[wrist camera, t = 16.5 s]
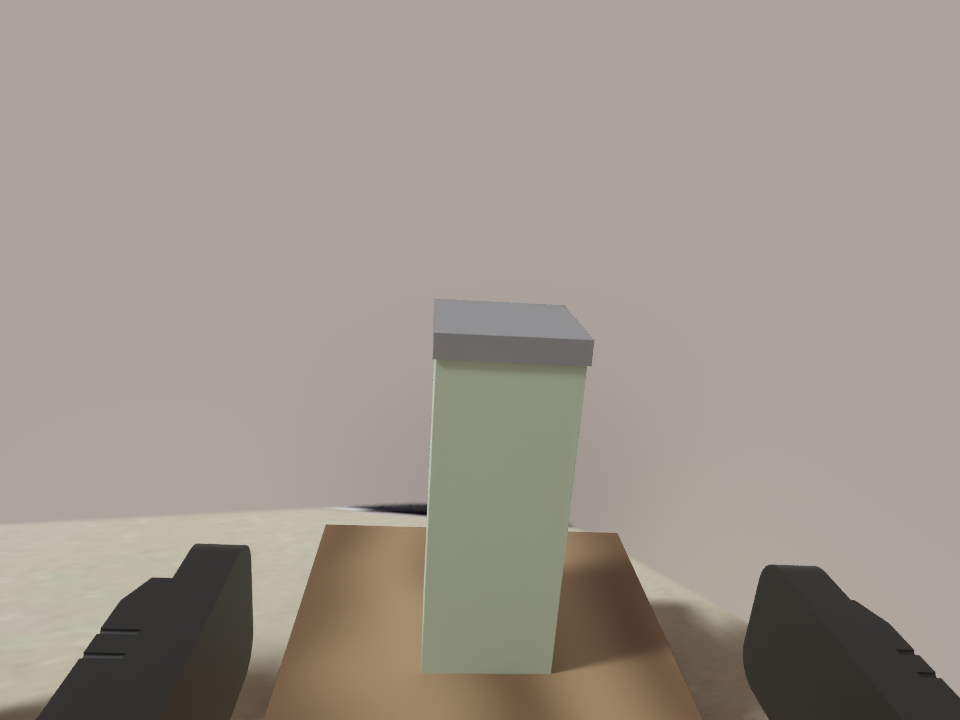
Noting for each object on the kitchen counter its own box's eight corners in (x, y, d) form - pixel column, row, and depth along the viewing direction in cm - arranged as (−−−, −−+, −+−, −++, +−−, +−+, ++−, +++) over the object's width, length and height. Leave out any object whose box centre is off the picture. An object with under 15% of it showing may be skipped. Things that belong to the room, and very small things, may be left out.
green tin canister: (418, 675, 23) (434, 332, 19) (421, 589, 27) (434, 298, 24) (554, 676, 23) (594, 339, 19) (534, 591, 27) (564, 305, 24)
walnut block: (244, 929, 19) (237, 799, 18) (326, 613, 33) (325, 524, 31) (710, 924, 20) (740, 800, 19) (605, 619, 34) (617, 533, 32)
